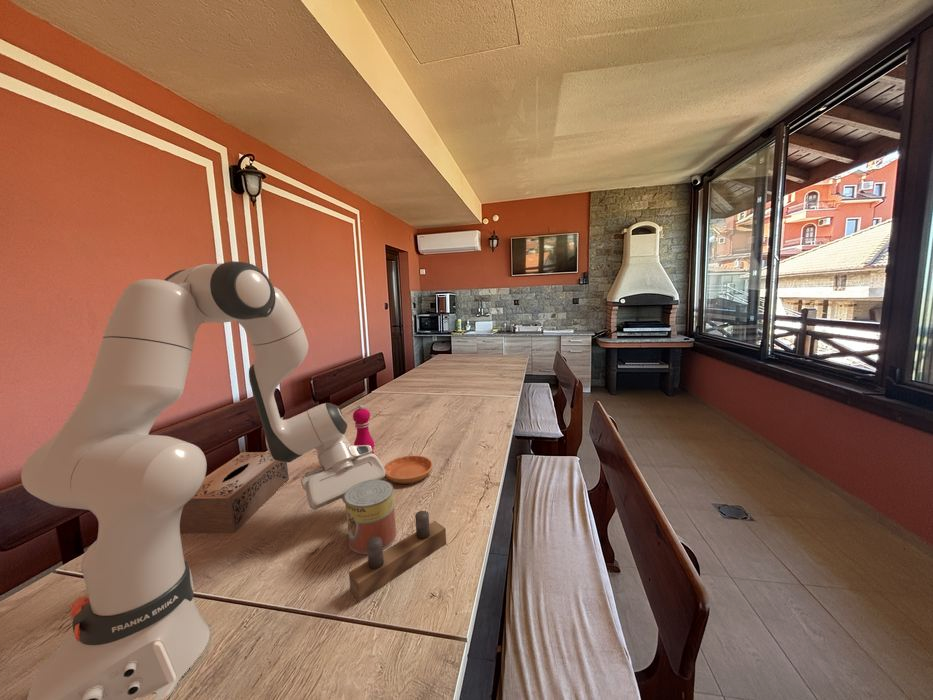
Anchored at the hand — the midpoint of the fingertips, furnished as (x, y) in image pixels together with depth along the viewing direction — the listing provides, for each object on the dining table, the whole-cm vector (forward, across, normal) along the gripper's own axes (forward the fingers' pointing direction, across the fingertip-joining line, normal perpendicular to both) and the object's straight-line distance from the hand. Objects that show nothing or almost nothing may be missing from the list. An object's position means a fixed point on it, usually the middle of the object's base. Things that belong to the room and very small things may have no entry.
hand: (358, 509), depth 89 cm
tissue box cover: (-21, -19, +29) cm, 41 cm away
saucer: (-5, +24, +13) cm, 28 cm away
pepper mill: (-21, +20, +28) cm, 41 cm away
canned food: (+8, 0, -1) cm, 8 cm away
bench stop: (+17, 0, -10) cm, 19 cm away
